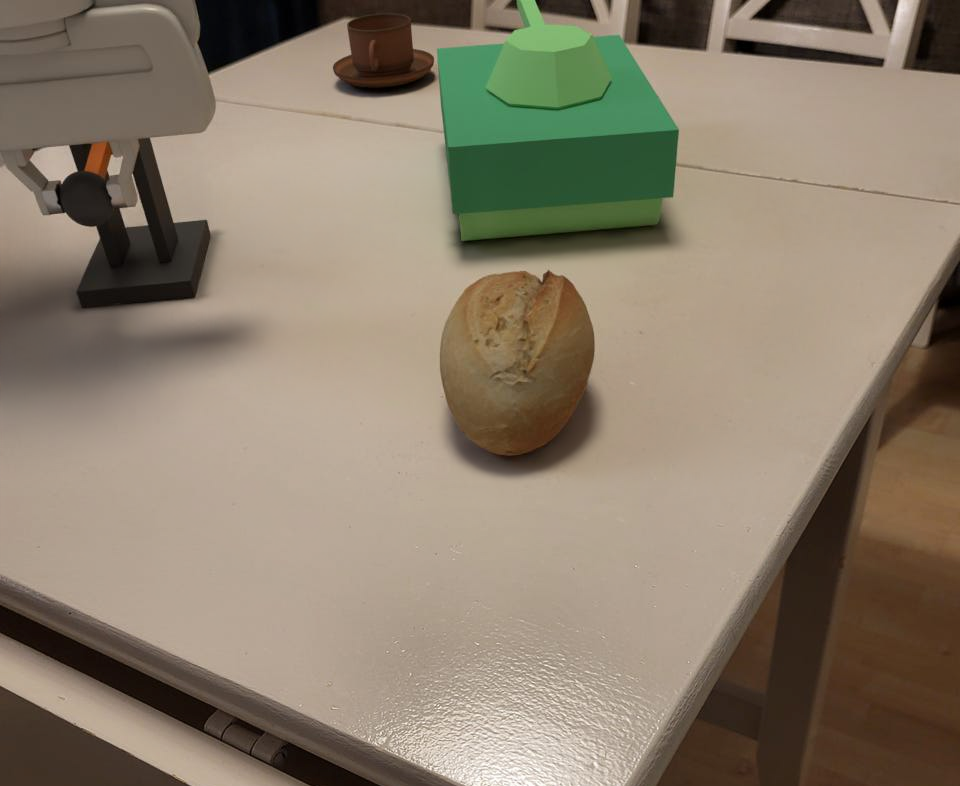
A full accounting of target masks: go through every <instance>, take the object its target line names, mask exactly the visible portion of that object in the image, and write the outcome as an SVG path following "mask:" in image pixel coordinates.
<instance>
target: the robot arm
mask: <svg viewBox="0 0 960 786" xmlns="http://www.w3.org/2000/svg"><path fill="white" fill-rule="evenodd" d="M200 35H201V21H200V17H199V13H198V9H197V3H196V0H0V154H1V156H2V160H3V162H4V165H5V168H6V169H7V170H8V171H9V172H10V173H11V174H12V175H13V176H14V177H15V178H16V179H18V180H19V181H20V182H21V184H23V185H24V186H25V187H26V188H27V189H28V190H29V191H30V192H33V195H34V198H35V200H36V203H37V205H38V208H39V211H40V213H41V215H42V216H53V215H59V214H61V215H62V214H66V213H65V211H64V210H63V207H62V205H61V202H60V188H61V185H62V182H61V180H60V179H59V180H57V179H56V180H49V179H48V178H47V177H46V176H45V175H44V174H43V173H42V171H40V170H39V168H37V166H36V165H35V164H34V163H33V162H32V161H31V159H32V157H33V155H34V154H35V152H34V150H35V149H43V148H54V147H55V148H57V147H65V146H66V147H67V146H69V145H78V144H88V143H99V142H109V143H110V147H111V150H112V153H113V155H112V156H113V157H114V158H117V159H118V158H121V157H122V160H121V164H120V168H119V173H118V174H111V175H109V181H107V183H106V188H107V191H108V194H109V195H110V196H111V197H112V199H111V203H112V206H113V208H114V209H116V208H120V209H126V208H136V207H137V204H138V201H139V200H138V199H139V198H138V191H137V188H136V184H135V181H134V178H133V170H134V166H135V162H136V158H137V154H138V150H139V146H140V145H139V142H138V139H142V138H150V139H151V138H152V139H153V138H161V137H162V138H163V137H172V136H183V135H195V134H202V133H204V132H205V131H207V129H208V127H210V126H209V125H210V124H211V122H212V120H213V118H214V116H215V113H216V108H217V101H216V96H215V92H214V89H213V85H212V82H211V78H210V75H209V72H208V69H207V66H206V62H205V60H204V56H203V55H202V51H201V49H200V46H199V43H198V41H199V39H200ZM33 149H34V150H33Z"/></svg>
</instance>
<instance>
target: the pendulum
mask: <svg viewBox="0 0 960 786" xmlns="http://www.w3.org/2000/svg"><path fill="white" fill-rule="evenodd" d="M91 145H92V147H91V150H90V153H89V157H88V160H87V163H86V167H85V170H84V171H77V170H76V171H73V172H72V173H70V174H68V176H66V177H65V178H64V180H63V181H62V182H61V184H62V185H61V188H60V202H61V205H62V207H63V210H64V211H65V213H64V214H66V215H67V216H68V218H70V220H72V221H73V222H75V223H76V224H78V225H81V226H83V227H89V228H95V227H96V226H99V225H102V224H104V223H105V222H107V221H108V220H109V219H110V218H111V216H112V214H113V212H114V208H113V206H112V203H111V199H112V197H111V196H110V195H109V194H108V191H107V188H106V183H107V181H106V180H105V176H106V172H107V170H108V168H109V164H110V161H111V158H112V156H113V153H112V150H111V147H110V143H109V142H99V143H91Z"/></svg>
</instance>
